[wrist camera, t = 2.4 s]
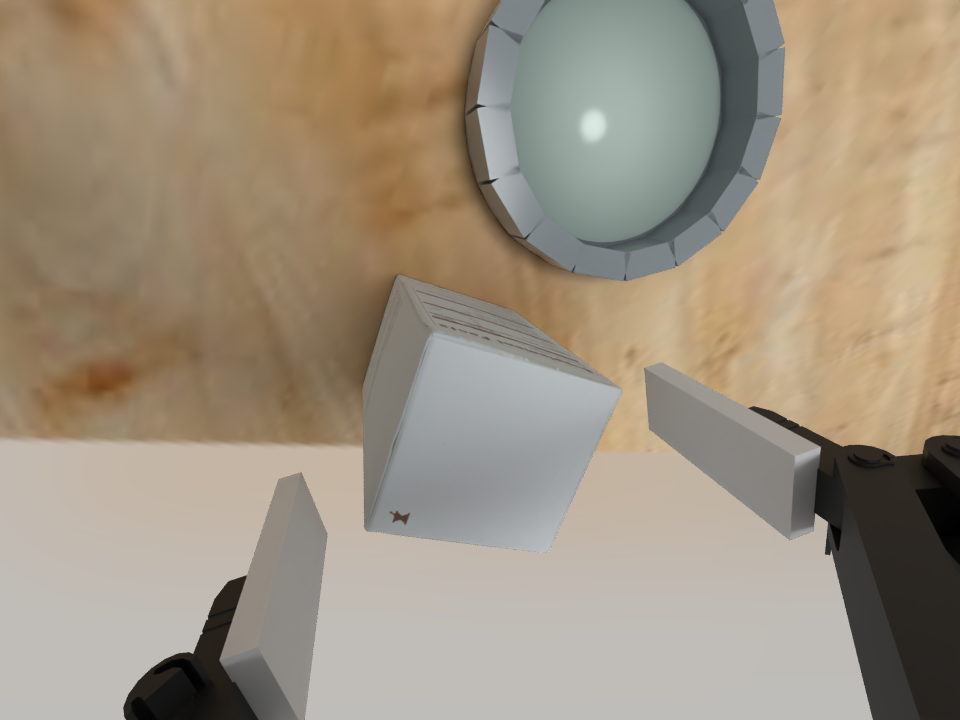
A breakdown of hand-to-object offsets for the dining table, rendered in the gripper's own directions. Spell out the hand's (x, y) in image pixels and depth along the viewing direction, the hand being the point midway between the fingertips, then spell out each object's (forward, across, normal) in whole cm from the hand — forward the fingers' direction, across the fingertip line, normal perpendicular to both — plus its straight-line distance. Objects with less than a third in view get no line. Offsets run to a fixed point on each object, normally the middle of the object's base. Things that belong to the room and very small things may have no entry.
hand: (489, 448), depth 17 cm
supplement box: (+11, 0, +1) cm, 11 cm away
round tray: (+11, +12, +11) cm, 19 cm away
